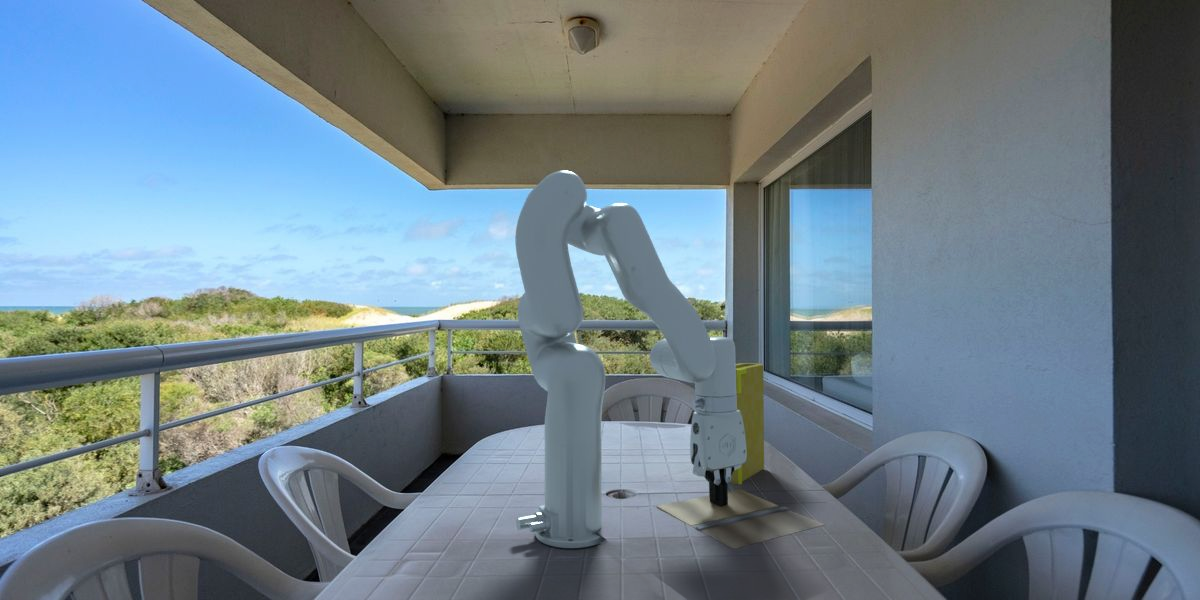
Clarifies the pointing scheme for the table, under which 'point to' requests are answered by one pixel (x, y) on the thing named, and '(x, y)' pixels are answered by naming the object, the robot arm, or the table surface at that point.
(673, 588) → the table surface
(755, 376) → the book
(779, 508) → the laid plank
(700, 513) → the board
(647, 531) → the table surface
